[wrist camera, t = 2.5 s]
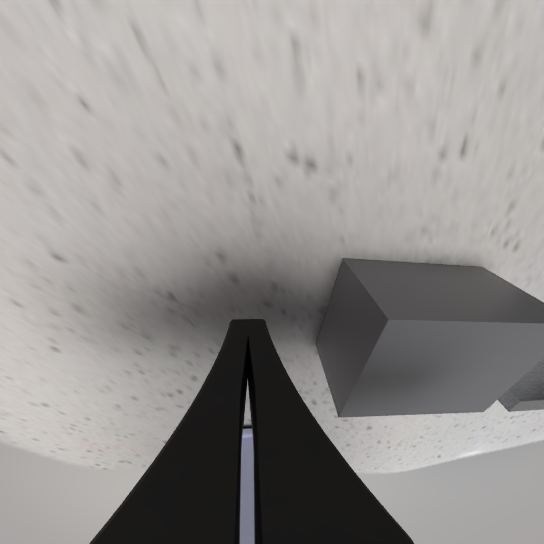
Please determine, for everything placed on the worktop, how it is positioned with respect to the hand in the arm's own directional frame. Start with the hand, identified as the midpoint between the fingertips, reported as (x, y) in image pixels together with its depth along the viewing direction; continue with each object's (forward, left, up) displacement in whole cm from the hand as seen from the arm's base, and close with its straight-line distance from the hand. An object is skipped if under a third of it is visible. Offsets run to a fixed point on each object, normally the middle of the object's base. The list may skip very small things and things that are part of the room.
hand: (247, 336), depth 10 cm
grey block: (0, -7, -2) cm, 8 cm away
